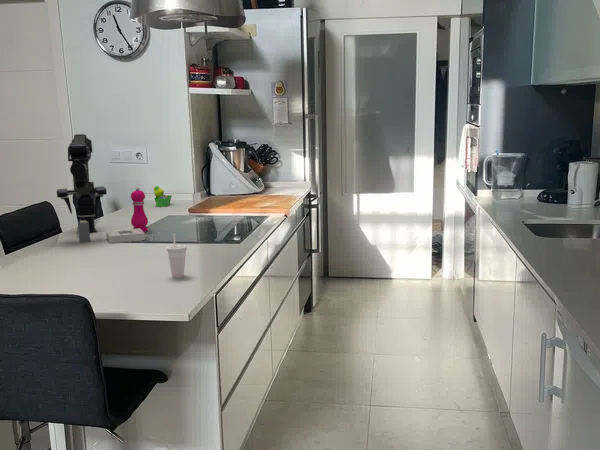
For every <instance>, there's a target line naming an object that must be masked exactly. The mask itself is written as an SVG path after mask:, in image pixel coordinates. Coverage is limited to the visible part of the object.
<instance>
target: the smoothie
mask: <svg viewBox="0 0 600 450" xmlns="http://www.w3.org/2000/svg"><path fill="white" fill-rule="evenodd" d="M172 237H173V244H172V245H168V246H166V251H167V255H168V256H167V257H168V260H169V266H170V267H169V268H170V273H171V277H172V278H175V279H176V278H177V279H178V278H184V277H185V268H186V267H185V266H186V256H187V255H186V252H187V250H188V248H187V245H185V244H176V233H172Z"/></svg>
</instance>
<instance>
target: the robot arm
mask: <svg viewBox="0 0 600 450" xmlns="http://www.w3.org/2000/svg"><path fill="white" fill-rule="evenodd" d="M93 150H94V149H93V144H92V140H91V139H89V138H88V137H87V134H85V133H83V134H81V133H80V134H79V133H78V134H77V133H76V134H73V139H72V140H71V142H70V143H69V145H68V146H67V162H71V166H70V168H69V170H70V174H71V175H72V181H73V189H72V190H69V189H68V188H58V189H56V197H57V198H60V200H64V202H65V203H66V204H65V205H67V208H68V211H69V213H70V215H72V214H73V210H72V206H71V201H70V197H69V196H70V195H73V196H75V195H77V196H79V197H78V198H77V202H76V205H75V211H76V212H75V213H76V219H77V220H80V221H84V220H86V221H88V223H89V233H93V232H94V233H96V232H97V229H96V224H95V219H98V218H99V217H100V214H99V206H98V205H99V202H100V200H101V198H103V197H104V196H105V195H107V188H106V187H105V186H95V183H94V181H90V174H89V173H90V172H89V171H90V170H89V162H90V160H91V158H92V153H93V152H94V151H93ZM91 194H94V198H93V196H91Z"/></svg>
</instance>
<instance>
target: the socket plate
mask: <svg viewBox="0 0 600 450" xmlns="http://www.w3.org/2000/svg"><path fill="white" fill-rule="evenodd" d="M105 233H106V239H107V241H108V243H109V244H110V243H111V244H118V243H119V244H121V243H133V242H141V241H142V240H144V241H146V235H145V234H146V232H143V231H142V230H141V229H140V228H137V229H133V228H130V229H129V228H126V229H118V230H117V229H115V230H106V232H105ZM140 240H141V241H140ZM132 241H133V242H132Z"/></svg>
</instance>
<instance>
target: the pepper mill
mask: <svg viewBox="0 0 600 450" xmlns="http://www.w3.org/2000/svg"><path fill="white" fill-rule="evenodd" d="M145 198H146V194H145V192H144V191H142V190H140V187H139V186H136V187H135V190H134V191H132V192H131V193H130V199H131V200H132V206H133V214H132V216H131V218H130V220H131V221H130V224H131V225H132V229H137V228H140V229H141V230H142V231H143V232H144V233H147V232H148V227H147V225H148V223H149V221H148V217H147V215H146V213H145V210H144V205H145V201H144V200H145ZM146 231H147V232H146Z"/></svg>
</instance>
